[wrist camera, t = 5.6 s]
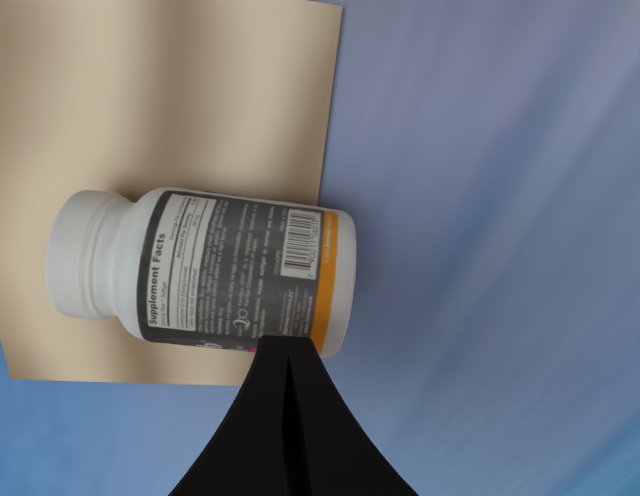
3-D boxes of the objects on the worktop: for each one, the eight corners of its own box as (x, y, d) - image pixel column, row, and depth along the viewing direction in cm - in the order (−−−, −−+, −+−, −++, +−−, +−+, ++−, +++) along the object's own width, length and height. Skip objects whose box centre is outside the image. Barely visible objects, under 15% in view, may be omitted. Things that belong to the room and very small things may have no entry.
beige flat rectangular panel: (341, 6, 16) (342, 5, 15) (293, 380, 24) (293, 387, 23) (-88, -58, 14) (-100, -61, 13) (16, 371, 22) (10, 379, 21)
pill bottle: (330, 333, 20) (106, 310, 19) (346, 208, 19) (117, 179, 18) (344, 387, 14) (26, 355, 13) (368, 211, 13) (39, 169, 13)
